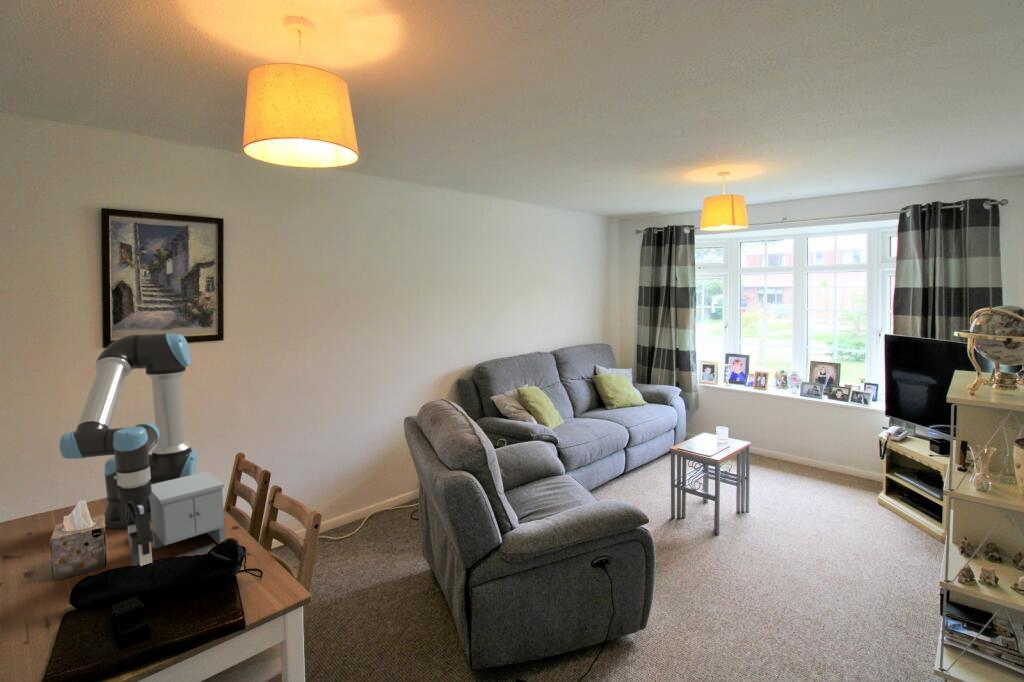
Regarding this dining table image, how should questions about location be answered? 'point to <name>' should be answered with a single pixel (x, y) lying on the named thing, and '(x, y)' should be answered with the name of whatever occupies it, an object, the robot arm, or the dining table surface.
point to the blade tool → (135, 550)
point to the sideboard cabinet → (187, 509)
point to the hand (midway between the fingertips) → (140, 554)
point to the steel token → (199, 552)
